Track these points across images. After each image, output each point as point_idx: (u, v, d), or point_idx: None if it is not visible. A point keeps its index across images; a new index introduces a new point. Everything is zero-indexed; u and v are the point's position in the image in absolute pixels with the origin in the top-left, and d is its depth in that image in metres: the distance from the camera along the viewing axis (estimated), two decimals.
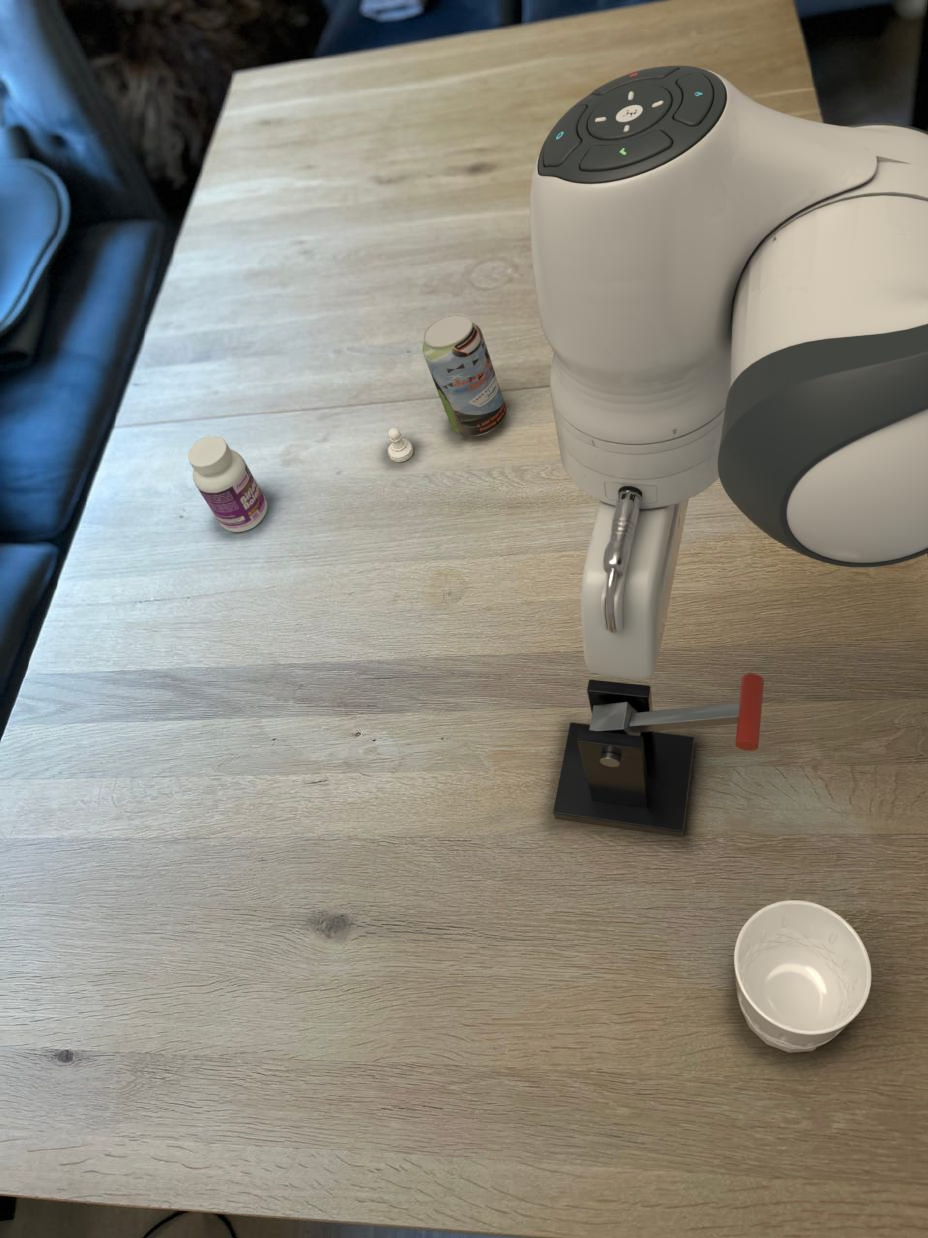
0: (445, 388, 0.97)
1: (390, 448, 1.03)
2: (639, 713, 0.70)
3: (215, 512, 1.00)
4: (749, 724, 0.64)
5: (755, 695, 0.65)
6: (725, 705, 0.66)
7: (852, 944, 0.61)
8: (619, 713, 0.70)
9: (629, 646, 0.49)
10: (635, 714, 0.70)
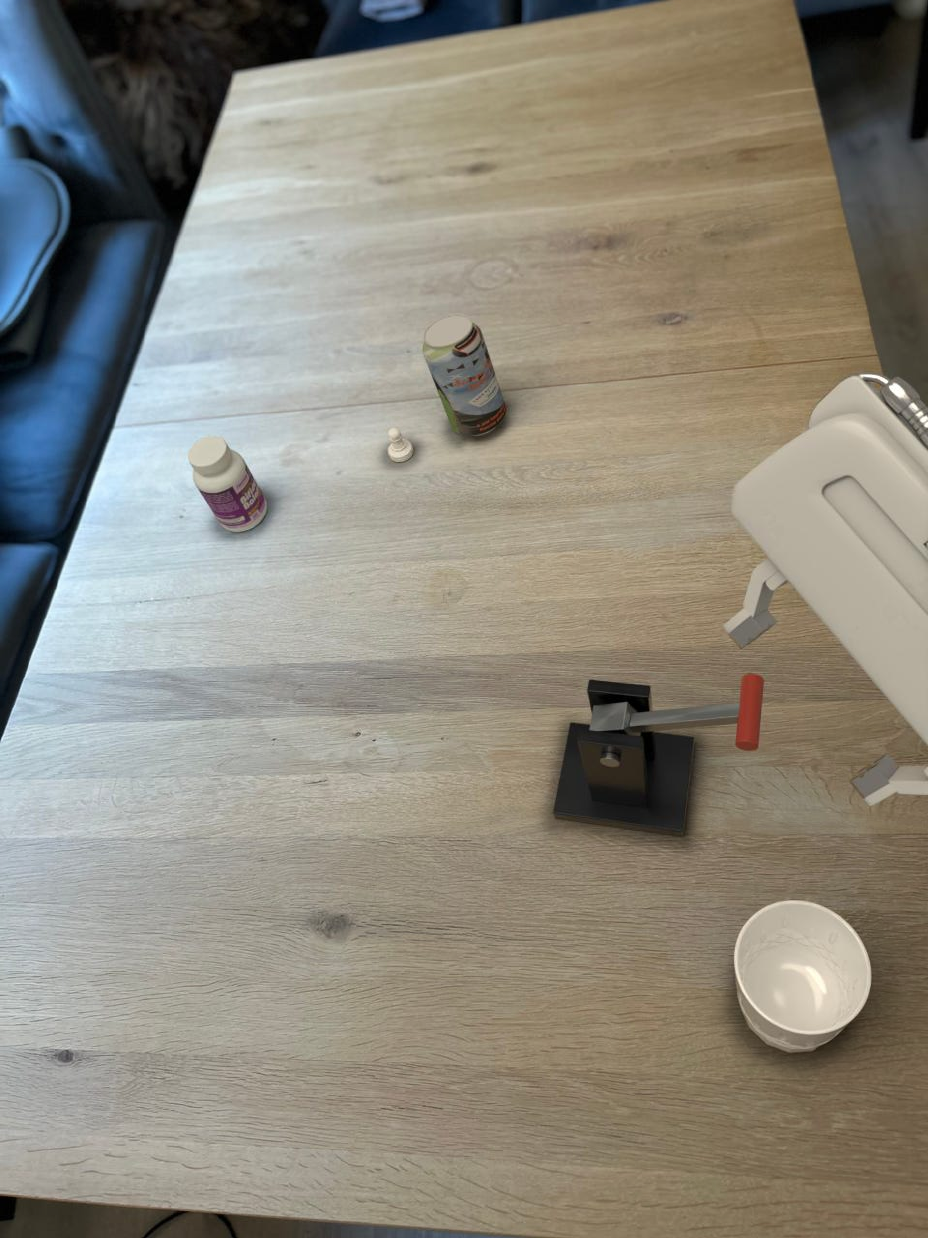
0: (445, 388, 0.97)
1: (390, 448, 1.03)
2: (639, 713, 0.70)
3: (215, 512, 1.00)
4: (749, 724, 0.64)
5: (755, 695, 0.65)
6: (725, 705, 0.66)
7: (852, 944, 0.61)
8: (619, 713, 0.70)
9: None
10: (635, 714, 0.70)
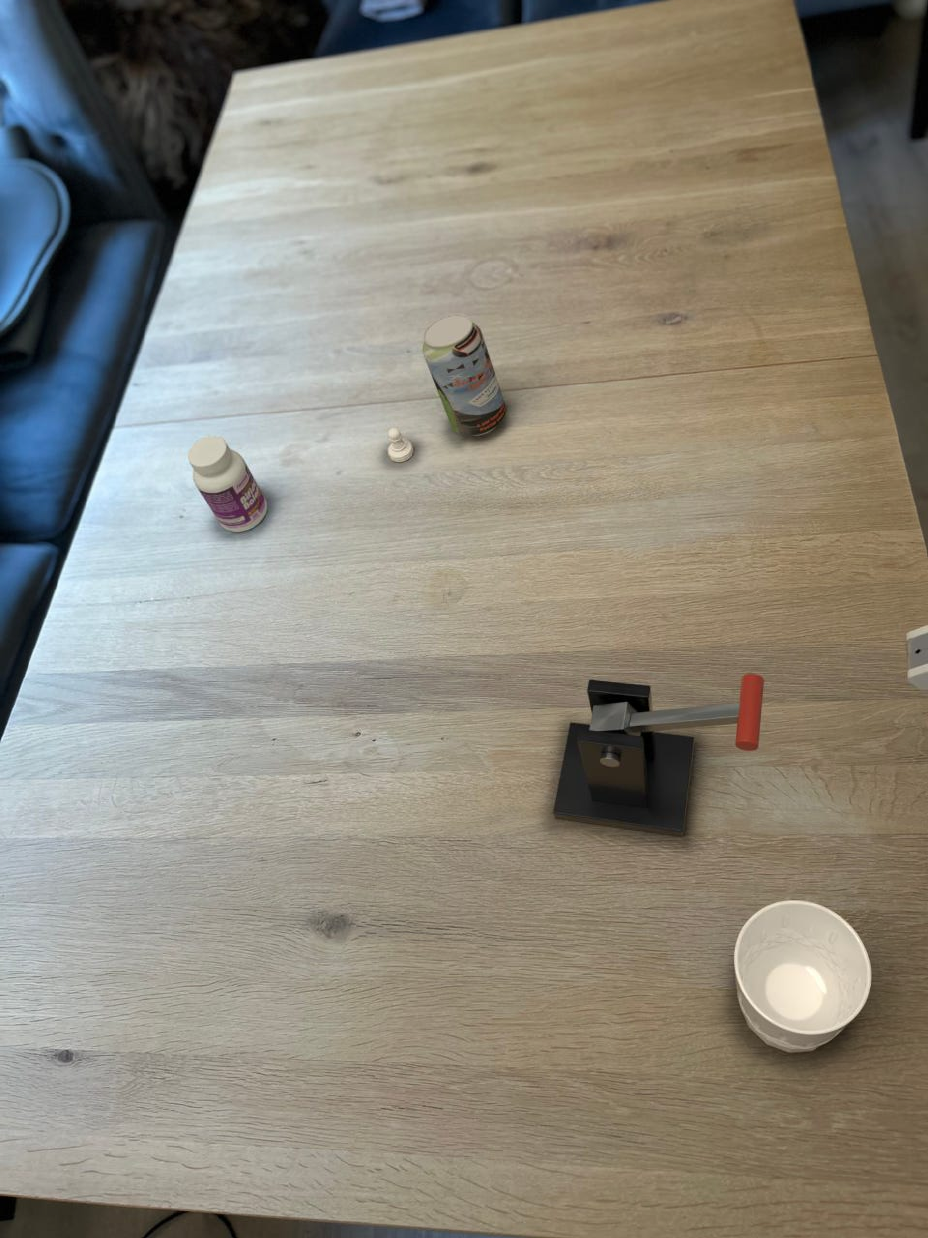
0: (445, 388, 0.97)
1: (390, 448, 1.03)
2: (639, 713, 0.70)
3: (215, 512, 1.00)
4: (749, 724, 0.64)
5: (755, 695, 0.65)
6: (725, 705, 0.66)
7: (852, 944, 0.61)
8: (619, 713, 0.70)
9: None
10: (635, 714, 0.70)
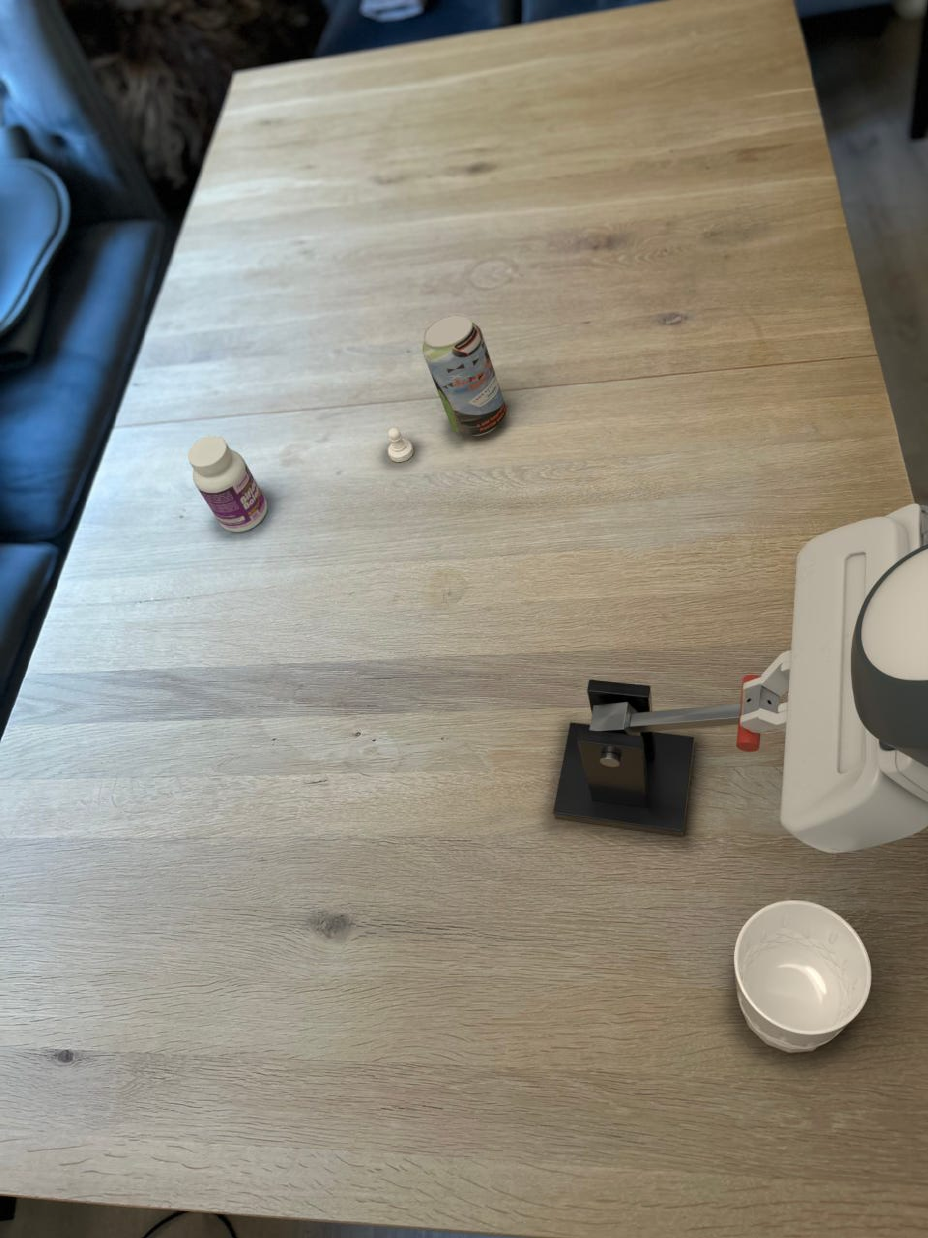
0: (445, 388, 0.97)
1: (390, 448, 1.03)
2: (639, 713, 0.70)
3: (215, 512, 1.00)
4: None
5: None
6: (726, 706, 0.66)
7: (852, 944, 0.61)
8: (619, 713, 0.70)
9: None
10: (635, 714, 0.70)
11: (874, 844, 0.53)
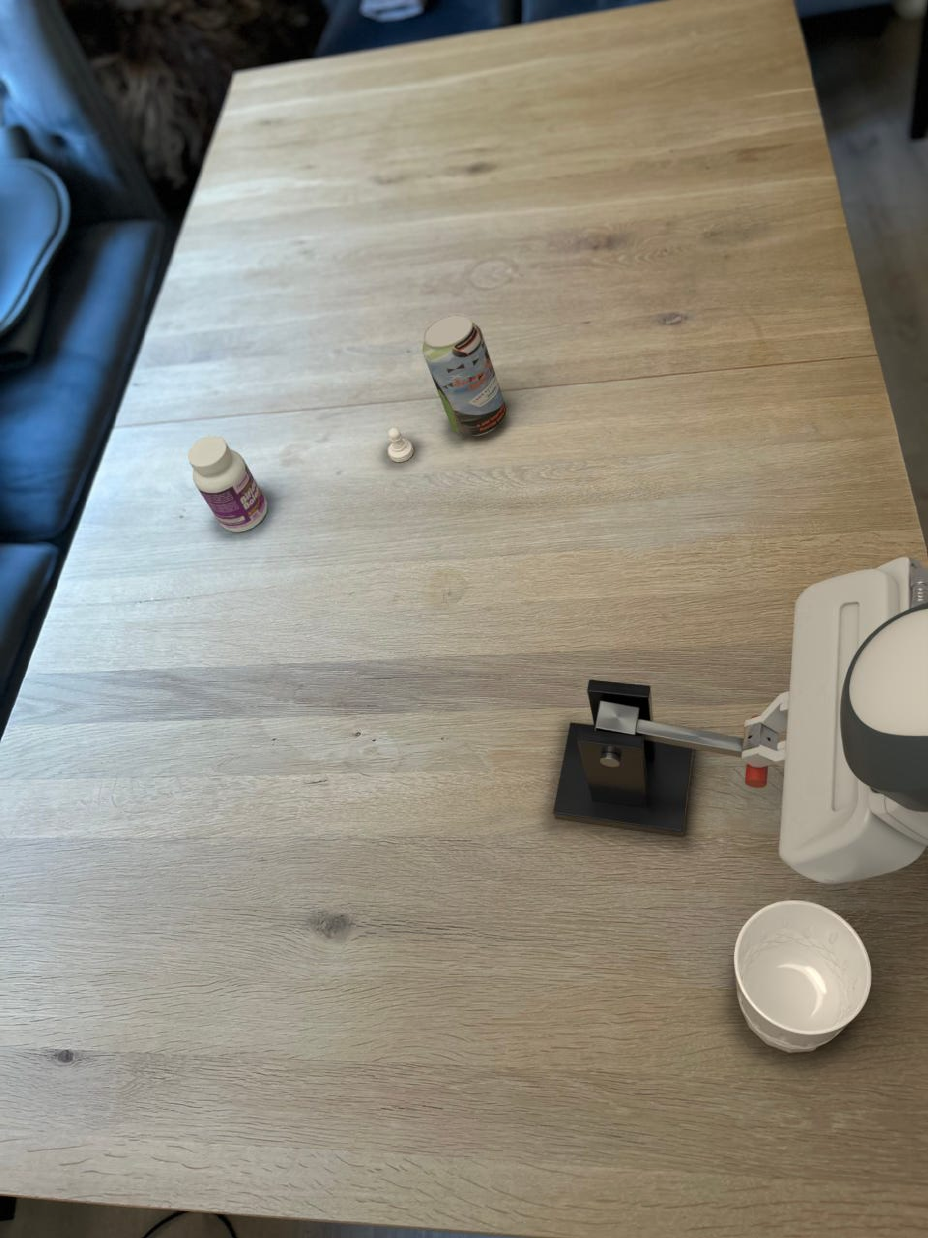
0: (445, 388, 0.97)
1: (390, 448, 1.03)
2: (646, 721, 0.70)
3: (215, 512, 1.00)
4: None
5: None
6: (738, 739, 0.69)
7: (852, 944, 0.61)
8: (630, 717, 0.70)
9: None
10: (642, 721, 0.70)
11: (866, 876, 0.57)
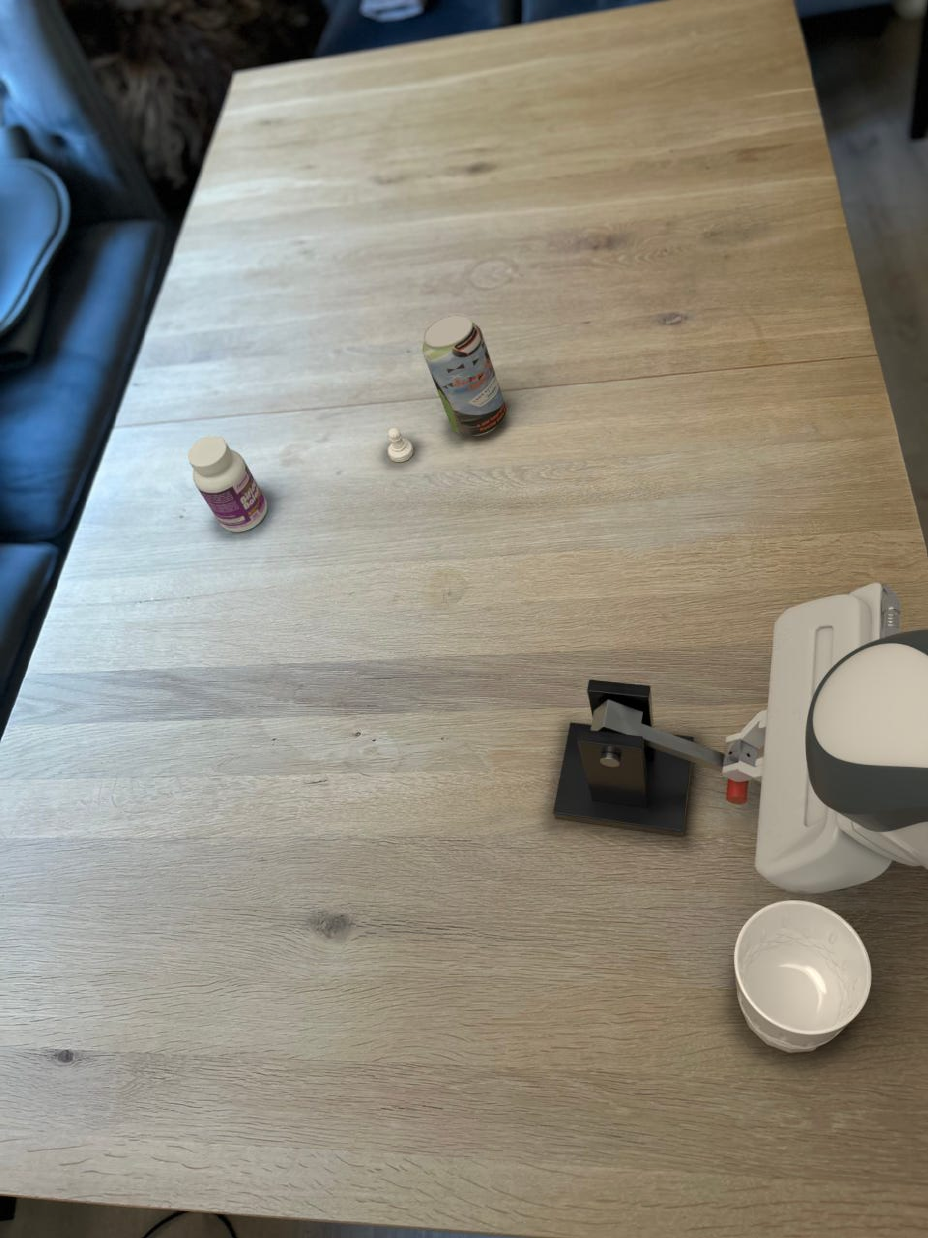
0: (445, 388, 0.97)
1: (390, 448, 1.03)
2: (646, 726, 0.71)
3: (215, 512, 1.00)
4: (746, 784, 0.71)
5: None
6: None
7: (852, 944, 0.61)
8: (635, 720, 0.70)
9: None
10: (642, 725, 0.71)
11: (836, 888, 0.61)
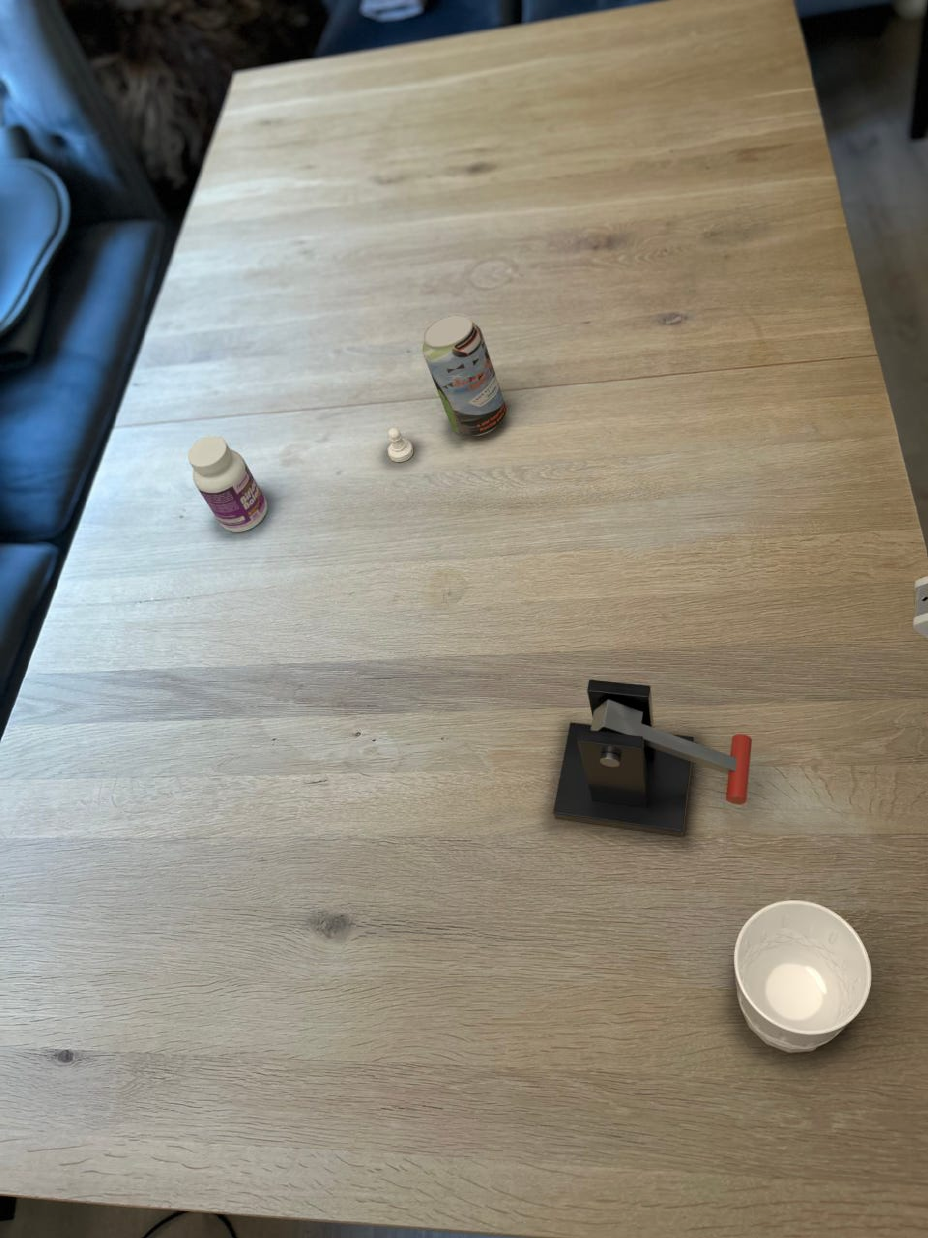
0: (445, 388, 0.97)
1: (390, 448, 1.03)
2: (646, 726, 0.71)
3: (215, 512, 1.00)
4: (746, 784, 0.71)
5: (749, 757, 0.73)
6: (725, 755, 0.72)
7: (852, 944, 0.61)
8: (635, 720, 0.70)
9: None
10: (642, 725, 0.71)
11: None
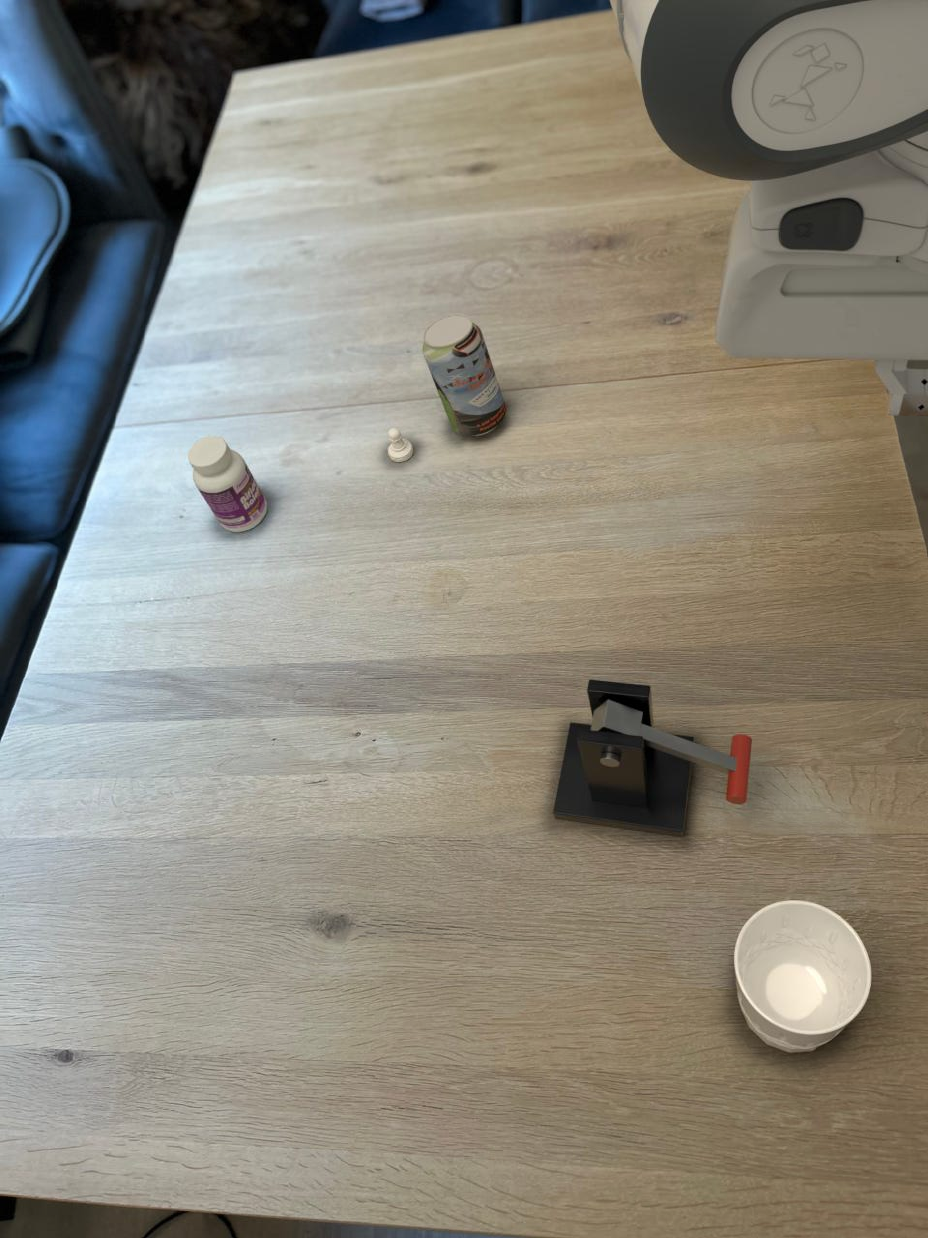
0: (445, 388, 0.97)
1: (390, 448, 1.03)
2: (646, 726, 0.71)
3: (215, 512, 1.00)
4: (746, 784, 0.71)
5: (749, 757, 0.73)
6: (725, 755, 0.72)
7: (852, 944, 0.61)
8: (635, 720, 0.70)
9: None
10: (642, 725, 0.71)
11: (720, 298, 0.46)
